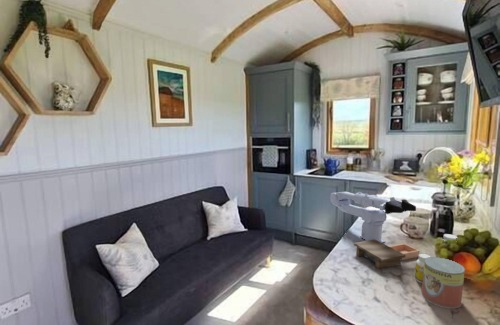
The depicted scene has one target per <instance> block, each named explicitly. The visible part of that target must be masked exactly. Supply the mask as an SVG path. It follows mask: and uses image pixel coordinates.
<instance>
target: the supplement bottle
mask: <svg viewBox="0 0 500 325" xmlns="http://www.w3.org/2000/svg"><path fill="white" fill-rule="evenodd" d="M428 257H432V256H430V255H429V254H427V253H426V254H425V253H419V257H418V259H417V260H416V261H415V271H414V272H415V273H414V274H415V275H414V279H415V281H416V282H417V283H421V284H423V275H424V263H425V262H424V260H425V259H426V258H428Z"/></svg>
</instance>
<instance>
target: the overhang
mask: <svg viewBox="0 0 500 325" xmlns="http://www.w3.org/2000/svg"><path fill="white" fill-rule="evenodd" d="M353 246H355V247H356V250H355V252H356V253H355V255H356V256H357V257H359V256H360V257H365V256H366V258H367V259H369V260H370V261H371V262H374V263H375V265H374V266H375V268H376V269H377V270H380V269H384V268H389V267H393V266H398V265H401V263H402V260H401V258H404V257H405V254H403V253H401V252H399V251H397V250H395V249H393V248H391V247H389V246H390V245H387V244H385V243H384V242H382V243H381V242H379V241H377V240H375V239H374V240H368V241H366V240H363V241H359V242H357V241H356V242H353Z"/></svg>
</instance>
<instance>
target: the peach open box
mask: <svg viewBox="0 0 500 325" xmlns="http://www.w3.org/2000/svg"><path fill="white" fill-rule="evenodd" d="M388 246H389V247H391V248H393V249H395V250H397V251H399V252H401V253H403V254H405V257H404V258H401V261H405V260H409V259H414V258H419V254H420V253H421V252H420V249H417V248H415V247H413V246H411V245H409V244H407V243H399V244H394V245H388Z"/></svg>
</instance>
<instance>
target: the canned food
mask: <svg viewBox="0 0 500 325" xmlns="http://www.w3.org/2000/svg"><path fill="white" fill-rule="evenodd" d="M424 262H425V263H424V275H423V283H422V287H421V295H422V297H423V298H424V299H425V300H426V301H428V302H429V303H431V304H433V305H436V306H438V307H441V308H445V309H458V308H460V307H462V304H463V302H462V299H463V289H464V280H465V272H466V268H465V267H464V266H463V265H462V264H460V263H459V262H458V263H457V262H455V261H452V260H449V259H445V258H440V257H439V256H431V257H428V258H426V259H425V260H424Z"/></svg>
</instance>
